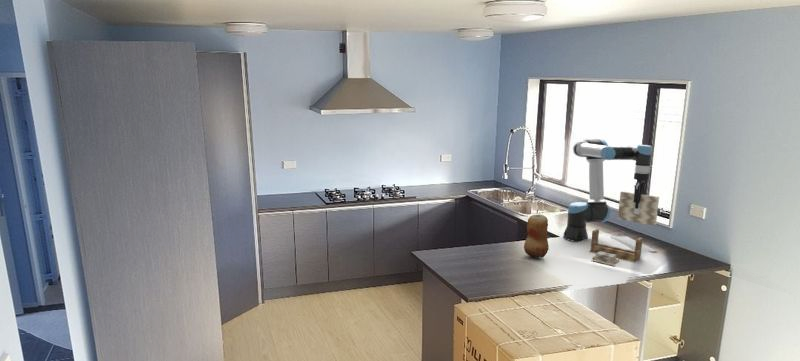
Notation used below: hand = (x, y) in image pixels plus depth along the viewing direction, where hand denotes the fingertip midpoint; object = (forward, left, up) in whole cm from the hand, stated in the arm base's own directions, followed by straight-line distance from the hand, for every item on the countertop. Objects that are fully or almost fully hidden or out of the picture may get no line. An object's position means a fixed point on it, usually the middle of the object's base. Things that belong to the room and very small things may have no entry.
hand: (637, 213), depth 289 cm
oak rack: (-8, -6, -27) cm, 28 cm away
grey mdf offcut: (-8, -20, -24) cm, 32 cm away
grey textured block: (-8, -20, -27) cm, 35 cm away
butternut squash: (-40, -41, -27) cm, 63 cm away
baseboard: (-8, +27, -27) cm, 39 cm away
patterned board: (0, 0, -5) cm, 5 cm away
